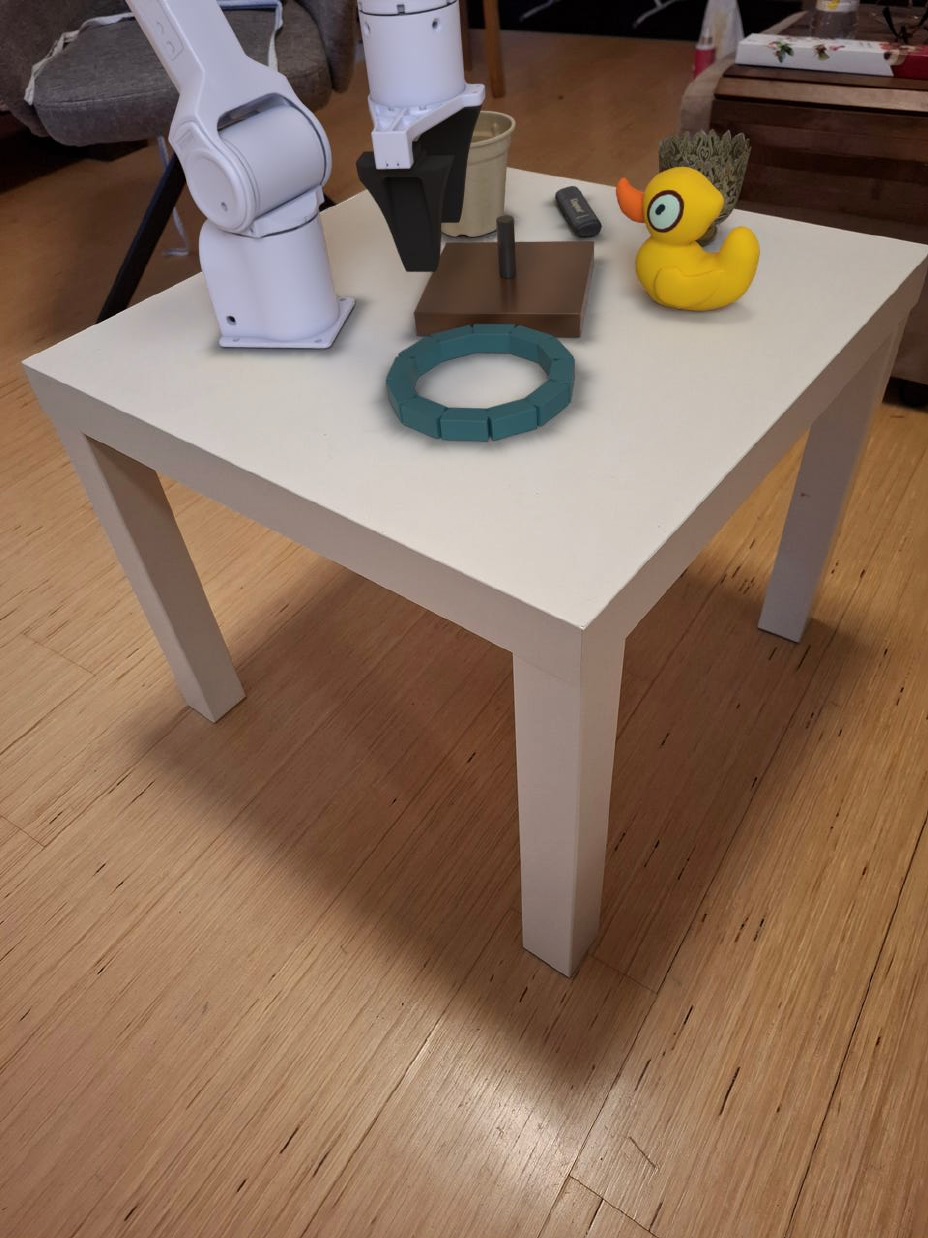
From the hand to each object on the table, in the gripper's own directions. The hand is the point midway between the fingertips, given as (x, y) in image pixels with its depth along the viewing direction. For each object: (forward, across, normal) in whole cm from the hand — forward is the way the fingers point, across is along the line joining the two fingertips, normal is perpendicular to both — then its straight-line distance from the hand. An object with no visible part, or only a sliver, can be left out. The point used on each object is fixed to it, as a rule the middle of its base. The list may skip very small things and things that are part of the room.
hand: (434, 244), depth 59 cm
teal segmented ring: (+9, -3, -3) cm, 10 cm away
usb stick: (+10, +27, -7) cm, 30 cm away
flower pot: (+10, +26, +3) cm, 28 cm away
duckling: (+10, +10, -17) cm, 22 cm away
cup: (+10, +22, -18) cm, 30 cm away
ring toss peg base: (+9, +11, -3) cm, 15 cm away
